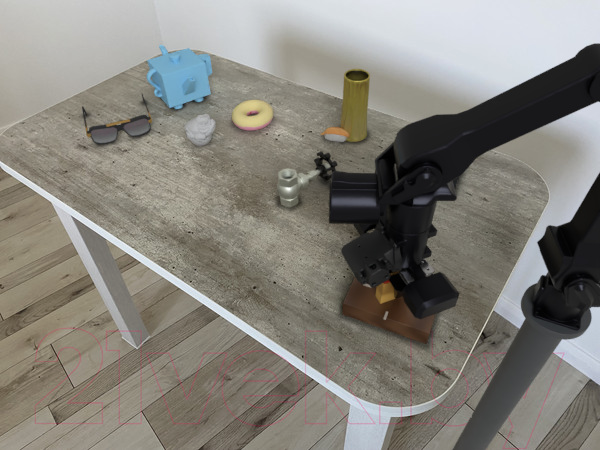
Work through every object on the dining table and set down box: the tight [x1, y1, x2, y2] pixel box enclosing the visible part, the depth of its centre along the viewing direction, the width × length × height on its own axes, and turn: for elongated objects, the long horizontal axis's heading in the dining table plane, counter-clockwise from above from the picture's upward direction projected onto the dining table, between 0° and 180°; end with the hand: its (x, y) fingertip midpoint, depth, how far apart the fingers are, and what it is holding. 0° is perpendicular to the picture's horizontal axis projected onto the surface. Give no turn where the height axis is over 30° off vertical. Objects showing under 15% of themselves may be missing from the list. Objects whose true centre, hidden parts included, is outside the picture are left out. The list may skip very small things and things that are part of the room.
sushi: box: [320, 126, 349, 143], centre depth 104 cm, size 3×6×3 cm, turn 78°
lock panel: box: [341, 276, 436, 345], centre depth 74 cm, size 13×10×3 cm
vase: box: [339, 68, 371, 143], centre depth 102 cm, size 6×6×14 cm
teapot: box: [146, 44, 213, 110], centre depth 115 cm, size 16×18×11 cm
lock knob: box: [375, 271, 399, 304], centre depth 71 cm, size 6×2×5 cm, turn 112°
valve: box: [276, 150, 338, 208], centre depth 91 cm, size 7×7×12 cm
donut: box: [231, 99, 274, 132], centre depth 110 cm, size 10×5×9 cm
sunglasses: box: [81, 93, 153, 145], centre depth 110 cm, size 14×15×5 cm
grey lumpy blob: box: [183, 113, 217, 147], centre depth 103 cm, size 6×7×7 cm
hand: (394, 292), depth 72 cm, fingers closed on lock knob, 2 cm apart
